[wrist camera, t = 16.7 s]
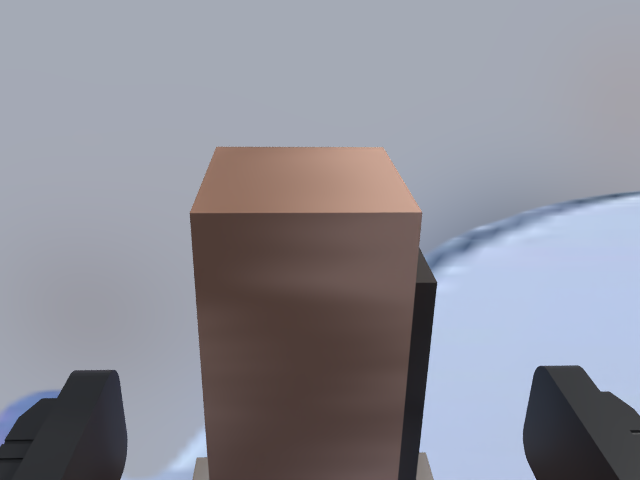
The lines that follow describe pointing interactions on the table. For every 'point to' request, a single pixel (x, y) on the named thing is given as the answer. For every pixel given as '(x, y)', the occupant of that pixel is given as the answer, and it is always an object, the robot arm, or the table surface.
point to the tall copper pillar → (311, 314)
